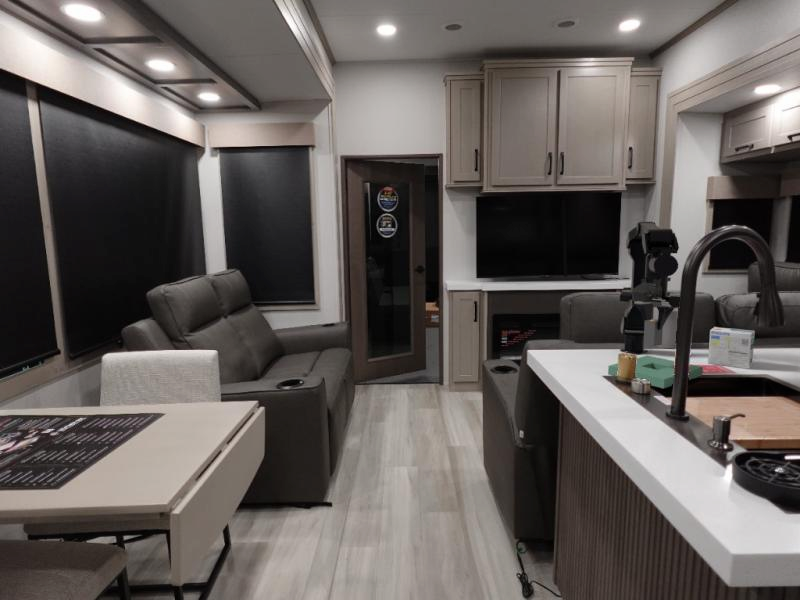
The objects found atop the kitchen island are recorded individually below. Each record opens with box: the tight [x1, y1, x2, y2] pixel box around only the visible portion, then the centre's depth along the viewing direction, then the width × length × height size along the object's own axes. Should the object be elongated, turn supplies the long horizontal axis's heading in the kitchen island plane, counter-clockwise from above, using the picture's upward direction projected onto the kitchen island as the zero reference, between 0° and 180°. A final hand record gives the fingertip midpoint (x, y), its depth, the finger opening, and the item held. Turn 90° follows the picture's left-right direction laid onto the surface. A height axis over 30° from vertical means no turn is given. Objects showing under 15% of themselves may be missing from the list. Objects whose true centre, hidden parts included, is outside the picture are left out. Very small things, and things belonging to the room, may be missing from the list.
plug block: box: [644, 318, 663, 347], centre depth 135 cm, size 4×3×7 cm
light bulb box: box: [707, 326, 756, 370], centre depth 145 cm, size 11×7×11 cm, turn 47°
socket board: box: [607, 355, 704, 389], centre depth 136 cm, size 20×16×2 cm
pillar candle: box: [652, 306, 678, 350], centre depth 169 cm, size 10×10×15 cm
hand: (653, 328), depth 135 cm, fingers closed on plug block, 3 cm apart
